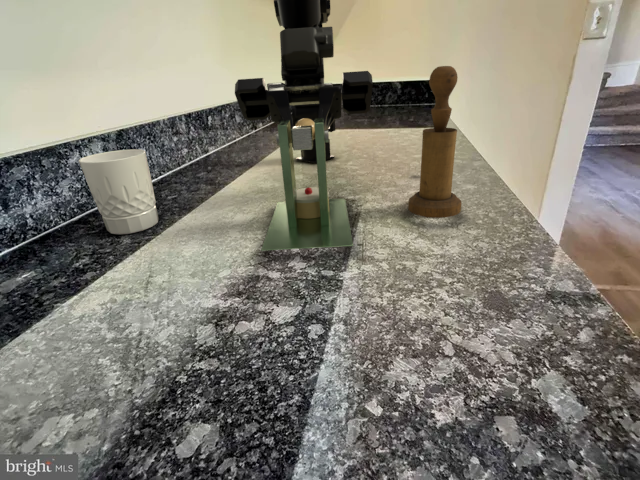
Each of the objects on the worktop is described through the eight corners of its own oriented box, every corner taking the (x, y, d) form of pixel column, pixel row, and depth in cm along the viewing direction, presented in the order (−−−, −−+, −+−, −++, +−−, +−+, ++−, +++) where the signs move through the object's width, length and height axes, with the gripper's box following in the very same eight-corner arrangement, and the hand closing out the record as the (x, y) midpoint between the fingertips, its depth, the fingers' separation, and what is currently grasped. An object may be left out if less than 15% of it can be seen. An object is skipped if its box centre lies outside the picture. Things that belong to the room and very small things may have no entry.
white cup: (174, 217, 54) (158, 149, 50) (134, 239, 47) (111, 162, 43) (133, 214, 57) (114, 149, 52) (89, 234, 50) (63, 161, 46)
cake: (291, 206, 52) (289, 183, 50) (329, 204, 52) (328, 180, 50) (288, 220, 47) (285, 195, 45) (330, 218, 47) (329, 192, 45)
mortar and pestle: (462, 210, 49) (478, 63, 42) (457, 228, 44) (474, 64, 37) (413, 206, 52) (419, 67, 44) (402, 222, 47) (407, 68, 39)
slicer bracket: (278, 209, 54) (267, 116, 49) (345, 205, 54) (342, 111, 48) (262, 260, 40) (244, 135, 34) (353, 255, 40) (350, 128, 34)
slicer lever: (295, 141, 52) (294, 118, 50) (318, 140, 52) (317, 116, 50) (289, 154, 41) (286, 125, 40) (317, 152, 41) (315, 123, 40)
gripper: (226, 11, 47) (218, 108, 41) (370, 1, 46) (382, 97, 41) (246, 78, 57) (242, 162, 52) (364, 70, 57) (374, 155, 51)
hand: (306, 145), depth 49 cm, fingers closed on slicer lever, 3 cm apart
